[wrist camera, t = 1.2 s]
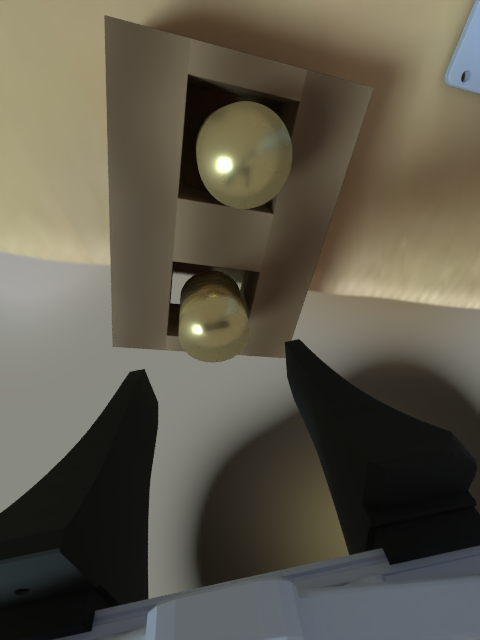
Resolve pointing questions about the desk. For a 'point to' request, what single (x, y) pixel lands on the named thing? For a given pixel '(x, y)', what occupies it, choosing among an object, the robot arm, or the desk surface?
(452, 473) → the robot arm
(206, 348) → the plunger
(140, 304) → the walnut block
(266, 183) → the plunger
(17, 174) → the desk surface
